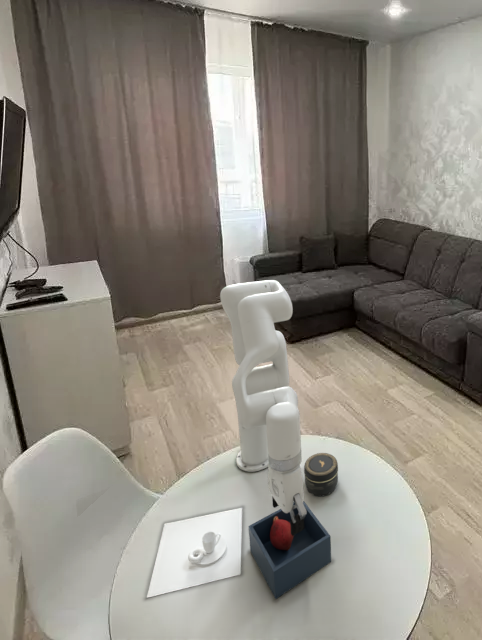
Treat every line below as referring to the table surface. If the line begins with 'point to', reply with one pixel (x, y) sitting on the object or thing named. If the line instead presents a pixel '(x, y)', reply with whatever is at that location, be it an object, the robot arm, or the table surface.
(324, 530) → the bin
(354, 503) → the table surface
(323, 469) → the jar
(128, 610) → the table surface
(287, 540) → the pomegranate
